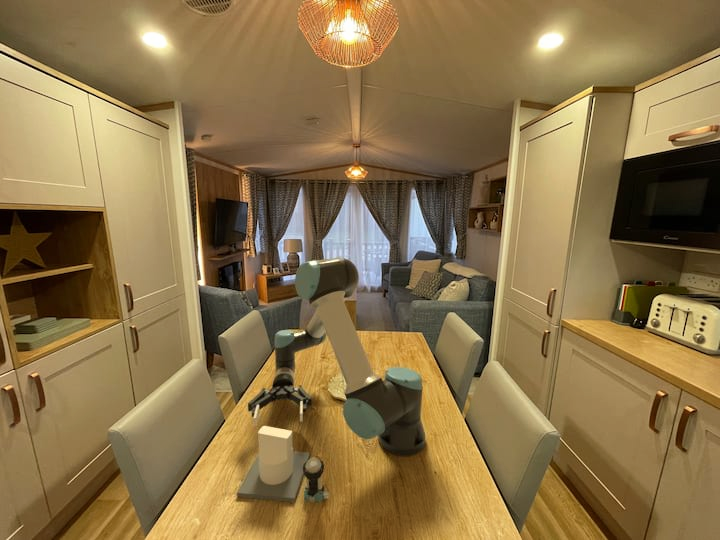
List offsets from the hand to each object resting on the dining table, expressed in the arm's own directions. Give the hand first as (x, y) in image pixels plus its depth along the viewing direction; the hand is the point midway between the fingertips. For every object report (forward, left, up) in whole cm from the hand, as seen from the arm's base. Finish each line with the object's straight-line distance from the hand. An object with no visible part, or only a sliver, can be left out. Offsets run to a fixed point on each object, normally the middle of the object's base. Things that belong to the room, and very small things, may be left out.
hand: (278, 419), depth 92 cm
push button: (-15, +15, -10) cm, 24 cm away
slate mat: (-2, +9, -10) cm, 14 cm away
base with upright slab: (-3, +9, -9) cm, 13 cm away
